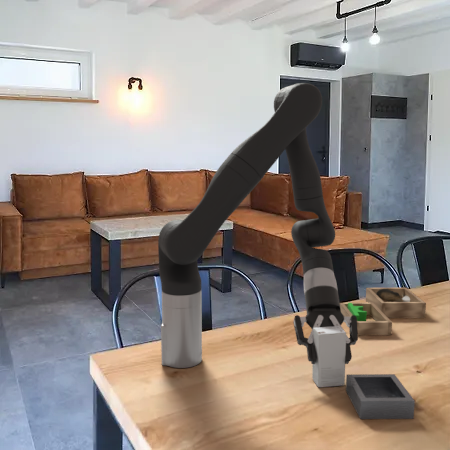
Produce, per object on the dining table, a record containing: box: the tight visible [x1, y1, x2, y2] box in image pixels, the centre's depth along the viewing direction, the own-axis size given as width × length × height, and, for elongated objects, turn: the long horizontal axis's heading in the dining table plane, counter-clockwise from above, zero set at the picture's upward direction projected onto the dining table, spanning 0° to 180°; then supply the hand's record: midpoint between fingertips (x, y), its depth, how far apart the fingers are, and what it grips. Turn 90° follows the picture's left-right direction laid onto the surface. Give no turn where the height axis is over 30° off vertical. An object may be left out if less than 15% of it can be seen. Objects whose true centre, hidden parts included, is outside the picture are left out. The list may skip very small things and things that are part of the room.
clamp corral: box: [340, 302, 393, 336], centre depth 146 cm, size 10×17×4 cm, turn 1°
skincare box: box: [311, 326, 347, 388], centre depth 109 cm, size 6×4×12 cm
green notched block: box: [347, 302, 368, 321], centre depth 146 cm, size 11×4×5 cm, turn 177°
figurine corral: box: [365, 287, 427, 319], centre depth 158 cm, size 13×16×4 cm
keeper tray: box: [345, 373, 416, 420], centre depth 101 cm, size 10×11×4 cm
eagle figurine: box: [376, 289, 410, 302], centre depth 157 cm, size 8×7×9 cm
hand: (330, 362), depth 108 cm, fingers closed on skincare box, 6 cm apart
